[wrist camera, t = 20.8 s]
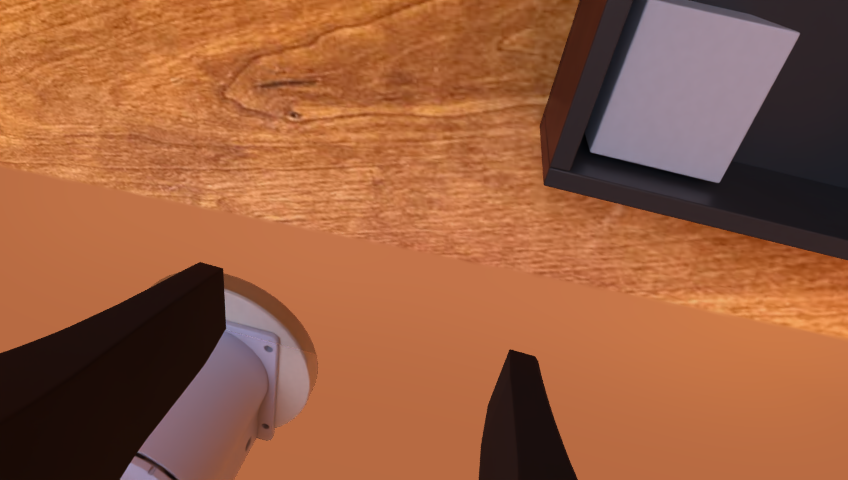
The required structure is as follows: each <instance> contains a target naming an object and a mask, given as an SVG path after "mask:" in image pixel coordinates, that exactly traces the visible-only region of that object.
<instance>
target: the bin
mask: <svg viewBox="0 0 848 480" xmlns="http://www.w3.org/2000/svg"><path fill="white" fill-rule="evenodd" d="M689 1H694V2H698V3H702V4H707V5H711V6H716V7H720V8H724V9H729V10H733V11H738V12H742V13H747V14H751V15H753V16H756V17H759V18H762V19H764V20H767V21H770V22H773V23H775V24H778V25H781V26H784V27H786V28H789V29H792V30H795V31H797V32H799V33H800V35H799V37H798V39H797V41H796V43H795V45H794V47H793V48H792V50H791V52H790V54H789V56H788V58H787V59H786V61H785V63H784V65H783V67H782V69H781V70H780V72H779V74H778V76H777V78H776V80H775V82H774V83H773V85H772V87H771V89H770V91H769V93H768V94H767V96H766V98H765V100H764V102H763V104H762V105H761V107H760V109H759V111H758V113H757V115H756V117H755V118H754V120H753V122H752V124H751V126H750V128H749V129H748V131H747V133H746V135H745V137H744V139H743V140H742V142H741V144H740V146H739V148H738V150H737V152H736V153H735V155H734V157H733V159H732V161H731V163H730V164H729V166H728V168H727V170H726V172H725V174H724V175H723V177H722V179H721V181H720V182H719V183H714V182H710V181H706V180H702V179H698V178H694V177H690V176H686V175H681V174H677V173H673V172H669V171H665V170H661V169H657V168H653V167H648V166H644V165H640V164H636V163H632V162H628V161H624V160H620V159H615V158H611V157H607V156H603V155H599V154H595V153H591V152H590V150H589V147H588V143H587V140H586V136H585V133H584V132H585V129H586V126H587V124H588V121H589V118H590V116H591V113H592V110H593V108H594V105H595V102H596V99H597V97H598V94H599V91H600V89H601V86H602V83H603V80H604V78H605V75H606V72H607V70H608V67H609V64H610V61H611V59H612V56H613V53H614V51H615V48H616V45H617V43H618V40H619V37H620V34H621V32H622V29H623V26H624V24H625V21H626V18H627V15H628V13H629V10H630V7H631V5H632V2H633V0H580V2H579V5H578V8H577V11H576V14H575V17H574V20H573V24H572V27H571V30H570V33H569V36H568V39H567V42H566V45H565V49H564V52H563V55H562V58H561V61H560V64H559V67H558V70H557V74H556V77H555V80H554V83H553V86H552V89H551V92H550V96H549V99H548V102H547V105H546V108H545V111H544V114H543V117H542V121H541V124H540V135H541V150H542V166H543V181H544V185H545V186H549V187H553V188H557V189H561V190H565V191H569V192H573V193H577V194H581V195H585V196H589V197H594V198H598V199H602V200H606V201H610V202H614V203H618V204H622V205H626V206H630V207H634V208H638V209H642V210H646V211H650V212H654V213H658V214H662V215H667V216H671V217H675V218H679V219H683V220H687V221H691V222H695V223H699V224H703V225H707V226H711V227H715V228H719V229H723V230H727V231H731V232H735V233H739V234H744V235H748V236H752V237H756V238H760V239H764V240H768V241H772V242H776V243H780V244H784V245H788V246H792V247H796V248H800V249H804V250H808V251H812V252H817V253H821V254H825V255H829V256H833V257H837V258H841V259H845V260H848V0H689Z"/></svg>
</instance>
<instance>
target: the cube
mask: <svg viewBox="0 0 848 480" xmlns="http://www.w3.org/2000/svg"><path fill="white" fill-rule="evenodd" d="M799 35H800V33H799V32H797V31H795V30H792V29H789V28H786V27H784V26H781V25H778V24H775V23H773V22H770V21H767V20H764V19H762V18H759V17H756V16H753V15H751V14H747V13H742V12H738V11H733V10H729V9H724V8H720V7H716V6H711V5H707V4H702V3H698V2H694V1H689V0H633V2H632V5H631V7H630V10H629V13H628V15H627V18H626V21H625V24H624V26H623V29H622V32H621V34H620V37H619V40H618V43H617V45H616V48H615V51H614V53H613V56H612V59H611V61H610V64H609V67H608V70H607V72H606V75H605V78H604V80H603V83H602V86H601V89H600V91H599V94H598V97H597V99H596V102H595V105H594V108H593V110H592V113H591V116H590V118H589V121H588V124H587V126H586V129H585V132H584V133H585V136H586V140H587V143H588V147H589V150H590V152H591V153H595V154H599V155H603V156H607V157H611V158H615V159H620V160H624V161H628V162H632V163H636V164H640V165H644V166H648V167H653V168H657V169H661V170H665V171H669V172H673V173H677V174H681V175H686V176H690V177H694V178H698V179H702V180H706V181H710V182H714V183H719V182H720V181H721V179H722V177H723V175H724V174H725V172H726V170H727V168H728V166H729V164H730V163H731V161H732V159H733V157H734V155H735V153H736V152H737V150H738V148H739V146H740V144H741V142H742V140H743V139H744V137H745V135H746V133H747V131H748V129H749V128H750V126H751V124H752V122H753V120H754V118H755V117H756V115H757V113H758V111H759V109H760V107H761V105H762V104H763V102H764V100H765V98H766V96H767V94H768V93H769V91H770V89H771V87H772V85H773V83H774V82H775V80H776V78H777V76H778V74H779V72H780V70H781V69H782V67H783V65H784V63H785V61H786V59H787V58H788V56H789V54H790V52H791V50H792V48H793V47H794V45H795V43H796V41H797V39H798V37H799Z"/></svg>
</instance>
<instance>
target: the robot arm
mask: <svg viewBox="0 0 848 480" xmlns="http://www.w3.org/2000/svg"><path fill="white" fill-rule="evenodd" d="M269 346H271V347H272V348H271V347H269ZM278 358H279V338H278V336H277V335H276V334H274V333H272V332H268V331H265V330H261V329H257V328H253V327H250V326H246V325H242V324H238V323H235V322H231V321H227V320H226V319H225V298H224V277H223V268H219V267H216V266H212V265H208V264H205V263H201V262H200V263H197V264H195V265H194V266H191V267H189V268H187V269H185V270H183V271H182V272H179V273H178V274H176V275H174V276H172V277H170V278H168V279H166V280H164V281H162V282H161V283H159V284H157V285H155V286H153V287H151V288H149V289H147V290H145V291H143V292H141V293H139V294H137V295H135V296H133V297H132V298H129V299H128V300H126V301H124V302H122V303H120V304H118V305H116V306H114V307H112V308H109V309H107V310H105V311H103V312H101V313H99V314H96V315H94V316H92V317H90V318H88V319H85V320H83V321H81V322H79V323H77V324H75V325H72V326H70V327H68V328H65V329H63V330H61V331H58V332H56V333H54V334H51V335H49V336H46V337H43V338H41V339H38V340H36V341H33V342H30V343H28V344H25V345H22V346H20V347H17V348H14V349H11V350H9V351H6V352H3V353H0V480H234V479H235V477H236V475H237V473H238V471H239V469H240V468H241V465H242V464H243V462H244V460H245V458H246V456H247V455H248V453H249V451H250V449H251V447H252V445H253V443H254V441H255V440H256V438H259V439H262V440H266V441H268V440H271V439H272V438H273V436H274V430H275V412H276V394H277V376H278ZM479 480H578V479H577V477H576V474H575V472H574V470H573V467H572V465H571V463H570V460H569V458H568V455H567V453H566V450H565V447H564V445H563V442H562V439H561V436H560V434H559V431H558V429H557V425H556V423H555V420H554V417H553V414H552V411H551V407H550V404H549V401H548V398H547V394H546V391H545V387H544V384H543V380H542V376H541V372H540V368H539V363H538V361H537V359H536V357H535V356H532V355H528V354H525V353H521V352H517V351H514V350H509V353H508V355H507V358H506V360H505V363H504V365H503V368H502V371H501V373H500V376H499V378H498V381H497V383H496V386H495V389H494V391H493V394H492V396H491V399H490V401H489V404H488V409H487V414H486V420H485V425H484V431H483V437H482V443H481V454H480V469H479Z"/></svg>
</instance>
